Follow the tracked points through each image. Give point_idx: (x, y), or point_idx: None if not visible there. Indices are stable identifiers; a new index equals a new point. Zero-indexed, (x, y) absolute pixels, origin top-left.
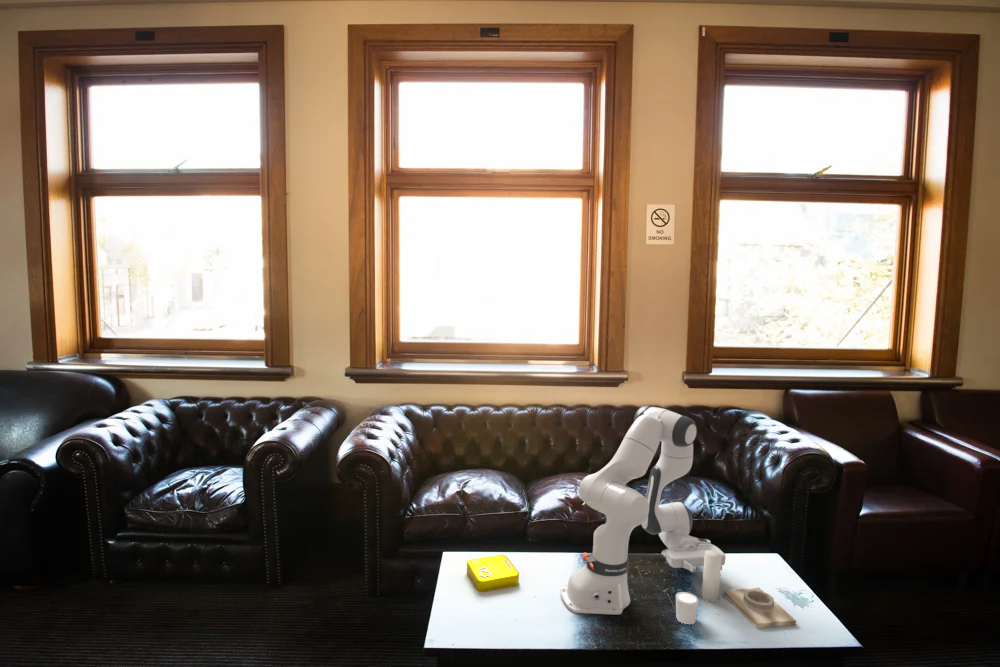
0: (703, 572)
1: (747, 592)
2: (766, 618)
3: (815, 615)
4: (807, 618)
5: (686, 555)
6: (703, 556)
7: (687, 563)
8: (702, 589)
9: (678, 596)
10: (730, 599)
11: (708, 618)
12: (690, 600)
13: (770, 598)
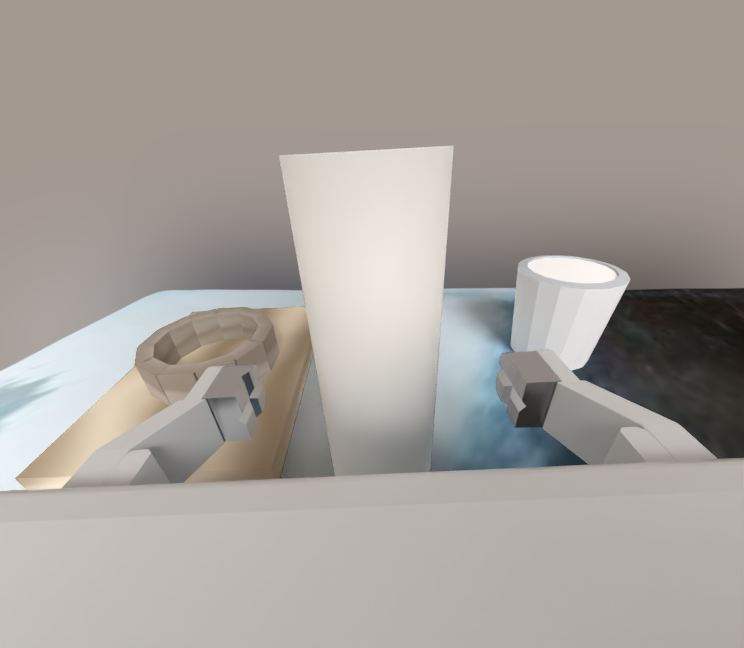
0: (438, 342)
1: (218, 358)
2: (271, 317)
3: (75, 349)
4: (122, 341)
5: (709, 551)
6: (302, 486)
7: (614, 400)
8: (432, 438)
9: (613, 273)
10: (291, 418)
11: (456, 349)
12: (554, 264)
13: (171, 329)
